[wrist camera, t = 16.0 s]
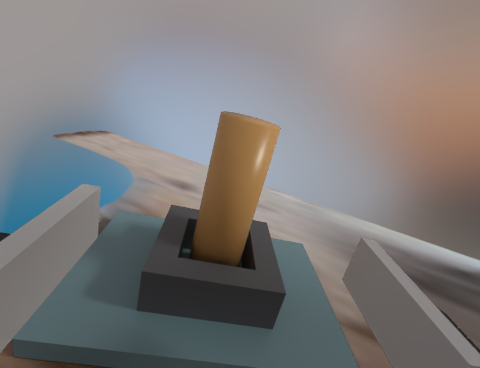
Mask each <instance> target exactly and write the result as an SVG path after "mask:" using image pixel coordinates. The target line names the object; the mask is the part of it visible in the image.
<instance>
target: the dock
mask: <svg viewBox="0 0 480 368" xmlns="http://www.w3.org/2000/svg"><path fill="white" fill-rule="evenodd" d="M198 214H199V210H196V209H191V208H186V207H180V206H175V205H171V207H170V209H169V212H168V214H167V216H166V218H165V219H163V218H158V217H152V216H147V215H141V214H136V213H130V212H125V211H118V213H117V214H116V215H115V216H114V217H113V219H112V220H111V221H110V222H109V223H108V225H107V226H106V227H105V228H104V229H103V231H102V232H101V233H100V234H99V235H98V238H97V239H96V240H95V241H94V242H93V244H92V245H91V246H90V247H89V248H88V249H87V251H86V252H85V253H84V254H83V255H82V257H81V258H80V259H79V260H78V261H77V263H76V264H75V265H74V266H73V267H72V268H71V270H70V271H69V272H68V273H67V274H66V276H65V277H64V278H63V279H62V280H61V282H60V283H59V284H58V285H57V286H56V287H55V289H54V290H53V291H52V292H51V293H50V295H49V296H48V297H47V298H46V299H45V301H44V302H43V303H42V304H41V305H40V306H39V308H38V309H37V310H36V311H35V312H34V314H33V315H32V316H31V317H30V318H29V320H28V321H27V322H26V323H25V324H24V325H23V327H22V328H21V329H20V330H19V331H18V333H17V334H16V335H15V336H14V337H13V339H12V343H13V354H14V357H20V358H29V359H38V360H47V361H56V362H65V363H74V364H84V365H93V366H102V367H111V368H359V366H358V364H357V361H356V359H355V357H354V355H353V353H352V351H351V348H350V346H349V344H348V342H347V340H346V338H345V335H344V333H343V331H342V329H341V327H340V325H339V322H338V320H337V318H336V316H335V314H334V312H333V309H332V307H331V305H330V303H329V301H328V299H327V296H326V294H325V292H324V290H323V288H322V286H321V283H320V281H319V279H318V277H317V275H316V273H315V270H314V268H313V266H312V264H311V262H310V260H309V257H308V255H307V253H306V251H305V249H304V246H303V244H301V243H295V242H290V241H284V240H279V239H273V238H271V237H270V233H269V230H268V226H267V223H265V222H260V221H254V220H252V224H251V227H250V230H249V233H248V237H247V240H246V243H245V247H244V250H243V253H242V256H241V260H240V263H239V266H238V267H233V266H227V265H221V264H215V263H209V262H203V261H197V260H191V259H189V255H190V251H191V246H192V242H193V237H194V232H195V228H196V223H197V219H198Z"/></svg>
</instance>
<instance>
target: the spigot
mask: <svg viewBox="0 0 480 368" xmlns="http://www.w3.org/2000/svg"><path fill="white" fill-rule="evenodd" d="M280 129H281V128H280V127H279V126H277V125H275V124H273V123H270V122H267V121H264V120H261V119H258V118H254V117H251V116H247V115H243V114H238V113H233V112H221V115H220V119H219V124H218V128H217V133H216V138H215V142H214V146H213V151H212V156H211V160H210V165H209V169H208V174H207V178H206V183H205V187H204V192H203V196H202V201H201V205H200V210H199V214H198V219H197V223H196V228H195V232H194V237H193V242H192V246H191V251H190V255H189V259H191V260H197V261H203V262H209V263H215V264H221V265H227V266H233V267H238V266H239V263H240V260H241V256H242V253H243V250H244V247H245V243H246V240H247V237H248V233H249V230H250V227H251V224H252V220H253V217H254V214H255V211H256V207H257V204H258V201H259V197H260V194H261V191H262V188H263V184H264V181H265V178H266V175H267V171H268V168H269V165H270V161H271V158H272V155H273V152H274V148H275V145H276V142H277V138H278V135H279V132H280Z"/></svg>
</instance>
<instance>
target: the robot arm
mask: <svg viewBox="0 0 480 368" xmlns="http://www.w3.org/2000/svg"><path fill="white" fill-rule="evenodd" d="M100 189H101V188H100V187H98V186H93V185H88V184H82V185H81V186H79V187H78V188H76V189H75V190H73V191H72V192H71V193H69V194H68V195H66V196H65V197H63V198H62V199H61V200H59V201H58V202H56V203H55V204H54V205H52V206H51V207H49V208H48V209H46V210H45V211H44V212H42V213H41V214H39V215H38V216H37V217H35V218H34V219H32V220H31V221H29V222H28V223H26V224H25V225H23V226H22V227H21V228H19V229H18V230H16V231H15V232H14V233H12V234H7V233H0V353H1V352H2V350H3V349H4V348H5V347H6V346H7V344H8V343H9V342H10V341H11V340H12V339H13V337H14V336H15V335H16V334H17V333H18V331H19V330H20V329H21V328H22V327H23V325H24V324H25V323H26V322H27V321H28V320H29V318H30V317H31V316H32V315H33V314H34V312H35V311H36V310H37V309H38V308H39V306H40V305H41V304H42V303H43V302H44V301H45V299H46V298H47V297H48V296H49V295H50V293H51V292H52V291H53V290H54V289H55V287H56V286H57V285H58V284H59V283H60V282H61V280H62V279H63V278H64V277H65V276H66V274H67V273H68V272H69V271H70V270H71V268H72V267H73V266H74V265H75V264H76V263H77V261H78V260H79V259H80V258H81V257H82V255H83V254H84V253H85V252H86V251H87V249H88V248H89V247H90V246H91V245H92V244H93V242H94V241H95V240H96V239H97V238H98V224H99V207H100ZM342 280H343V282H344V283H345V285H346V287H347V289H348V290H349V292H350V294H351V295H352V297H353V299H354V301H355V302H356V304H357V306H358V308H359V309H360V311H361V313H362V315H363V316H364V318H365V320H366V322H367V323H368V325H369V327H370V329H371V330H372V332H373V334H374V336H375V337H376V339H377V341H378V343H379V344H380V346H381V348H382V349H383V351H384V353H385V355H386V356H387V358H388V360H389V362H390V363H391V365H392V367H393V368H480V350H479V349H478V348H477V347H476V346H475V344H474V343H473V342H472V341H471V340H470V339H468V338H467V336H466V335H465V334H464V333H463V332H462V331H461V329H458V328H457V327H458V326H457V325H456V324H455V323H454V322H453V321H452V320H451V319H450V318H449V317H448V316H447V315H446V314H445V313H444V312H443V311H441V310H440V309H439V308H438V307H436V306H435V305H434V304H433V303H432V302H431V301H430V299H429V298H428V297H427V296H426V295H425V294H424V293H423V292H422V291H421V290H420V289H419V288H418V286H417V285H416V284H415V283H414V282H413V281H412V280H411V279H410V278H409V277H408V276H407V275H406V273H405V272H404V271H403V270H402V269H401V268H400V267H399V266H398V265H397V264H396V263H395V262H394V260H393V259H392V258H391V257H390V256H389V255H388V254H387V253H386V252H385V251H384V250H383V249H382V247H381V246H380V245H379V244H378V243H377V242H376V241H375V240H371V239H366V238H361V240H360V242H359V244H358V246H357V248H356V251H355V253H354V255H353V257H352V259H351V261H350V264H349V266H348V268H347V270H346V272H345V274H344V277H343V279H342Z"/></svg>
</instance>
